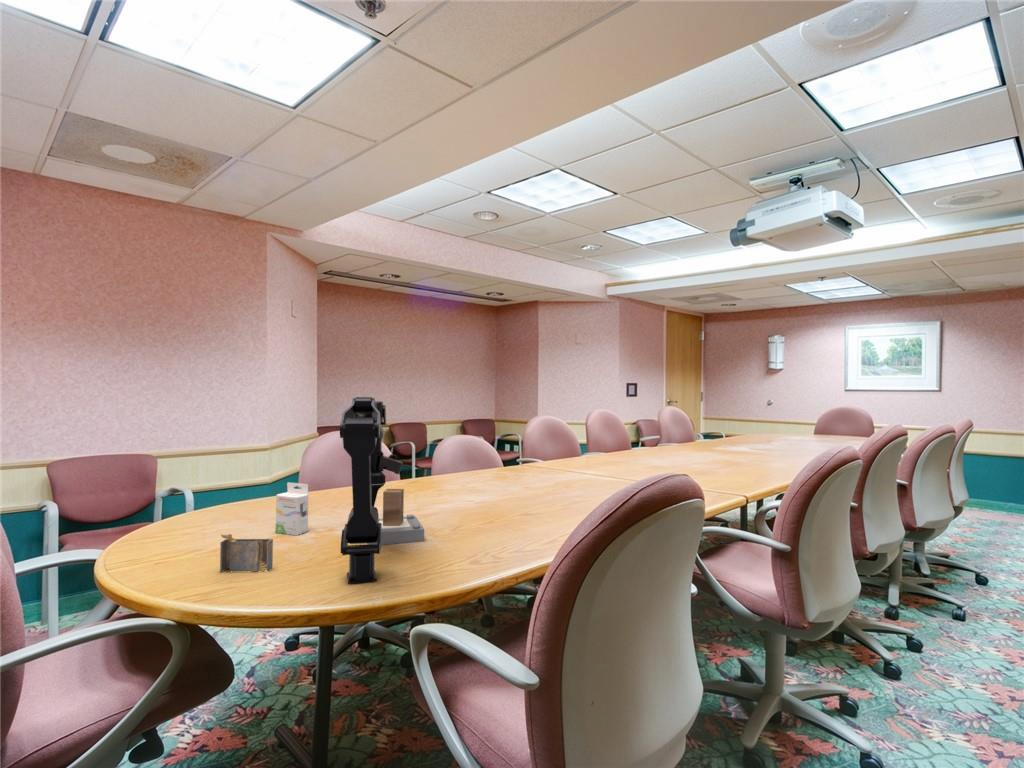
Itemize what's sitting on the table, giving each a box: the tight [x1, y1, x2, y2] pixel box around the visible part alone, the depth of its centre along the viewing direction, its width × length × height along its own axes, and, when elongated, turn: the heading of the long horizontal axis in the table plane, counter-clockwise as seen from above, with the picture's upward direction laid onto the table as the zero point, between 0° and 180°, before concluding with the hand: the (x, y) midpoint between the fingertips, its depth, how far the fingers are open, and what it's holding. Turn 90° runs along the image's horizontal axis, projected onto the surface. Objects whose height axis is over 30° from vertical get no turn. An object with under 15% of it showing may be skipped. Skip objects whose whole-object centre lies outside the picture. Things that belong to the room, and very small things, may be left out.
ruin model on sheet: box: [219, 533, 274, 573], centre depth 128 cm, size 11×3×10 cm, turn 93°
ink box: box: [275, 481, 309, 536], centre depth 161 cm, size 9×5×15 cm, turn 71°
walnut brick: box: [382, 488, 405, 526], centre depth 158 cm, size 5×5×10 cm
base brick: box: [366, 514, 425, 546], centre depth 158 cm, size 16×16×4 cm
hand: (370, 505), depth 141 cm, fingers open, 9 cm apart
